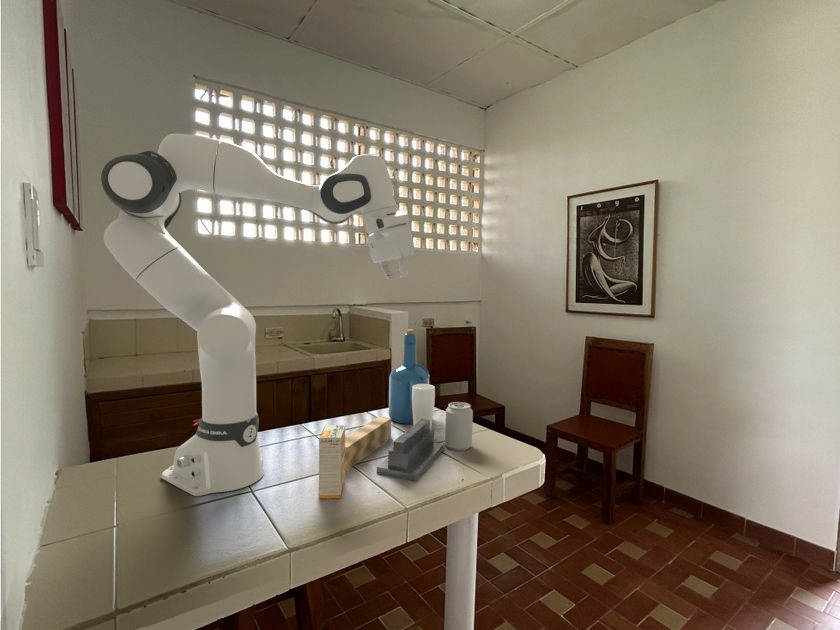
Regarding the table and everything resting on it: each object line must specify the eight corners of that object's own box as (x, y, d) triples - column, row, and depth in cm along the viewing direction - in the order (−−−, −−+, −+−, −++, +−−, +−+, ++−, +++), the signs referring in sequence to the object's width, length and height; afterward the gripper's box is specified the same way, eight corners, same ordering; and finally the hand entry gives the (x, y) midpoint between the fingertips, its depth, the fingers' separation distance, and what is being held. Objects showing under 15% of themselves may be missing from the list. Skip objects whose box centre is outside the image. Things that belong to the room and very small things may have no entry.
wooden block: (346, 471, 99) (346, 447, 98) (332, 468, 100) (332, 444, 100) (390, 438, 121) (391, 418, 121) (378, 436, 123) (379, 416, 122)
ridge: (376, 472, 98) (377, 440, 98) (409, 443, 117) (410, 415, 116) (415, 481, 94) (416, 447, 94) (443, 449, 113) (444, 421, 112)
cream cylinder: (422, 430, 128) (424, 382, 126) (438, 436, 123) (439, 387, 121) (406, 435, 123) (407, 385, 122) (421, 442, 118) (423, 390, 117)
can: (471, 442, 119) (472, 401, 118) (472, 452, 111) (473, 409, 111) (445, 440, 120) (446, 400, 119) (444, 451, 112) (445, 407, 111)
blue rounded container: (380, 420, 136) (382, 329, 134) (402, 410, 148) (403, 326, 145) (416, 428, 129) (418, 333, 127) (436, 417, 141) (438, 329, 139)
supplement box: (341, 499, 86) (341, 437, 85) (317, 499, 86) (318, 437, 85) (345, 480, 94) (346, 424, 93) (324, 480, 94) (324, 424, 93)
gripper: (358, 231, 109) (371, 281, 112) (386, 218, 91) (402, 279, 93) (379, 226, 112) (392, 276, 114) (411, 213, 94) (426, 272, 96)
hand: (397, 277), depth 104 cm, fingers open, 8 cm apart
